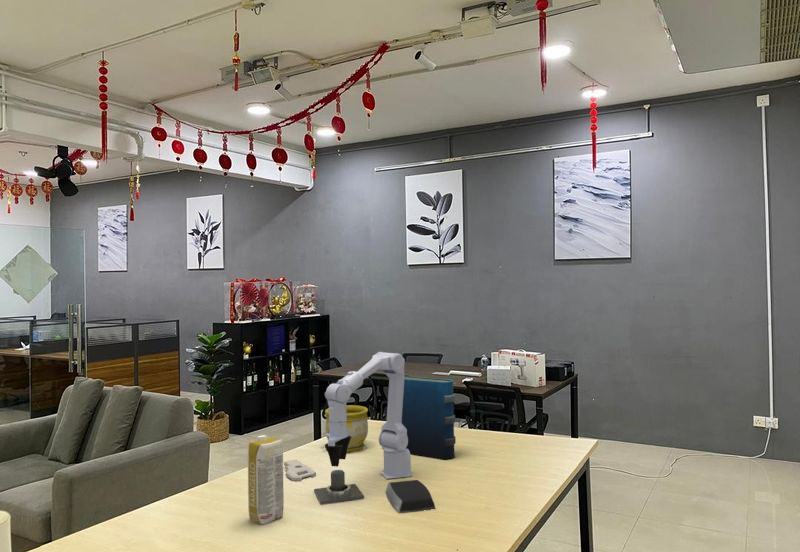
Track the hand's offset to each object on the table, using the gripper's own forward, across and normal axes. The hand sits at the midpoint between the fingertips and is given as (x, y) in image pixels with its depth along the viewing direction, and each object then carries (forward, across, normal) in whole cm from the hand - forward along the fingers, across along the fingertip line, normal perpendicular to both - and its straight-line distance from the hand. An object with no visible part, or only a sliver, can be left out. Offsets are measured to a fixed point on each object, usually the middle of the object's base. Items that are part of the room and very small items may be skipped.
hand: (338, 462), depth 188 cm
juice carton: (+10, +22, -15) cm, 29 cm away
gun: (+11, -18, -22) cm, 31 cm away
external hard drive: (+11, +1, +24) cm, 26 cm away
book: (+11, -50, +22) cm, 55 cm away
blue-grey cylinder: (+9, +1, 0) cm, 9 cm away
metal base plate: (+10, +1, 0) cm, 10 cm away
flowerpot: (+11, -52, -13) cm, 55 cm away
